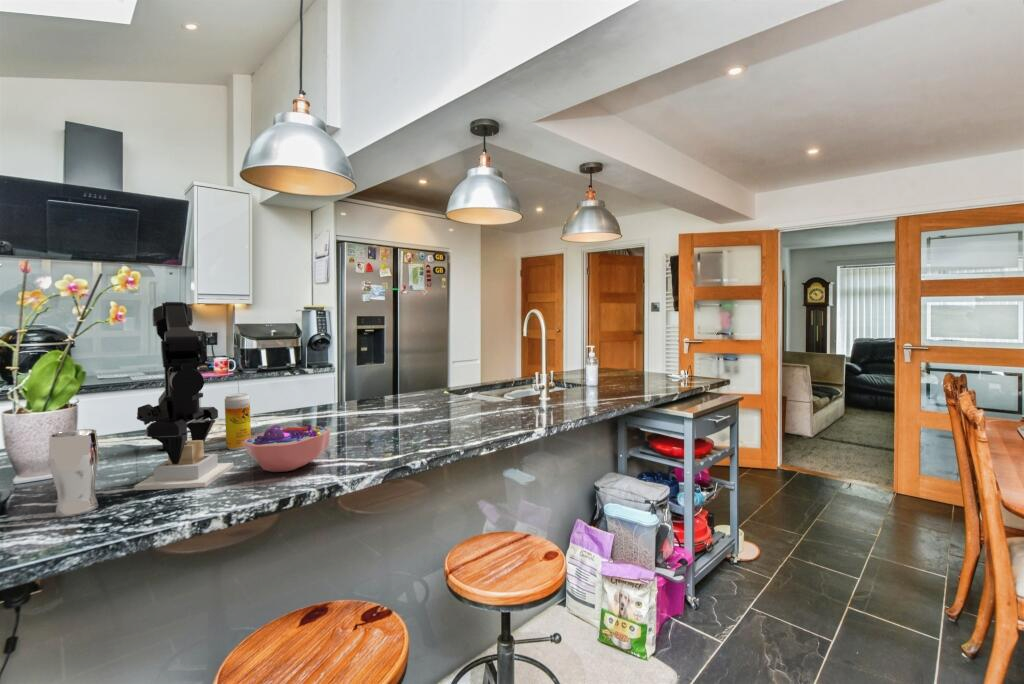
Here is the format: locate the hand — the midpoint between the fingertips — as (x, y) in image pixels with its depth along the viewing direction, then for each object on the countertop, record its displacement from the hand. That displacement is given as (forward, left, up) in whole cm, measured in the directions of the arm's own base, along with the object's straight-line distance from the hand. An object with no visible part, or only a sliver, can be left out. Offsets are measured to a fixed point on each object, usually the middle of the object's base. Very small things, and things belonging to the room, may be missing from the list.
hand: (186, 457), depth 109 cm
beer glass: (+17, -11, -5) cm, 21 cm away
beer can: (-25, +1, -5) cm, 25 cm away
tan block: (0, 0, -4) cm, 4 cm away
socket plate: (0, 0, -5) cm, 5 cm away
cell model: (-4, +21, -5) cm, 22 cm away
